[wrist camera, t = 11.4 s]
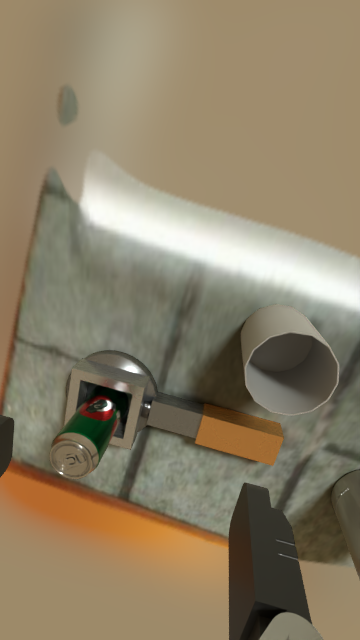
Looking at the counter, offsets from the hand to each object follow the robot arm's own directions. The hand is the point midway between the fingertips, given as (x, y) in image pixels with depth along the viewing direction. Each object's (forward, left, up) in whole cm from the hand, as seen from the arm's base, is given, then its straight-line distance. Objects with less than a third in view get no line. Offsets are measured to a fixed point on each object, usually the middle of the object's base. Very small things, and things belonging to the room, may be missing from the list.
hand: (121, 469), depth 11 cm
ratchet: (0, +16, -30) cm, 34 cm away
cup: (-11, +3, -30) cm, 32 cm away
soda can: (+7, +16, -29) cm, 34 cm away
